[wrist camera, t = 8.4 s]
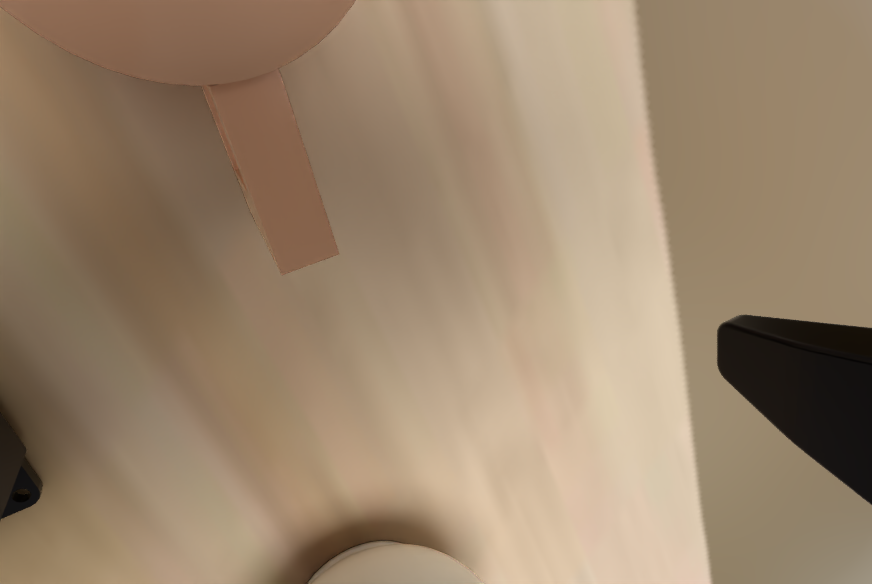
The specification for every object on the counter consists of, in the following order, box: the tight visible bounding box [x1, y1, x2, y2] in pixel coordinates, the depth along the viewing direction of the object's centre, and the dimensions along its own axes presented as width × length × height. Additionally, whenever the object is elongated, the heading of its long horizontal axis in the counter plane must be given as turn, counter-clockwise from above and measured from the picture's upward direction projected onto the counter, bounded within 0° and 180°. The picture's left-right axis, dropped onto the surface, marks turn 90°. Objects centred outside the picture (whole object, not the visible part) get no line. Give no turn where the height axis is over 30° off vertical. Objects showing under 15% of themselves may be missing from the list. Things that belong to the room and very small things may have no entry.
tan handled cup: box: [0, 0, 355, 275], centre depth 12 cm, size 6×10×9 cm, turn 12°
